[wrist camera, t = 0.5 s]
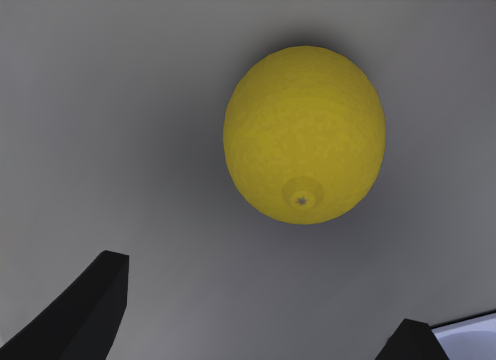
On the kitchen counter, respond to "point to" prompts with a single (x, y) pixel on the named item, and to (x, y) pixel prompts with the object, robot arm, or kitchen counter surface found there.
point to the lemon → (304, 135)
